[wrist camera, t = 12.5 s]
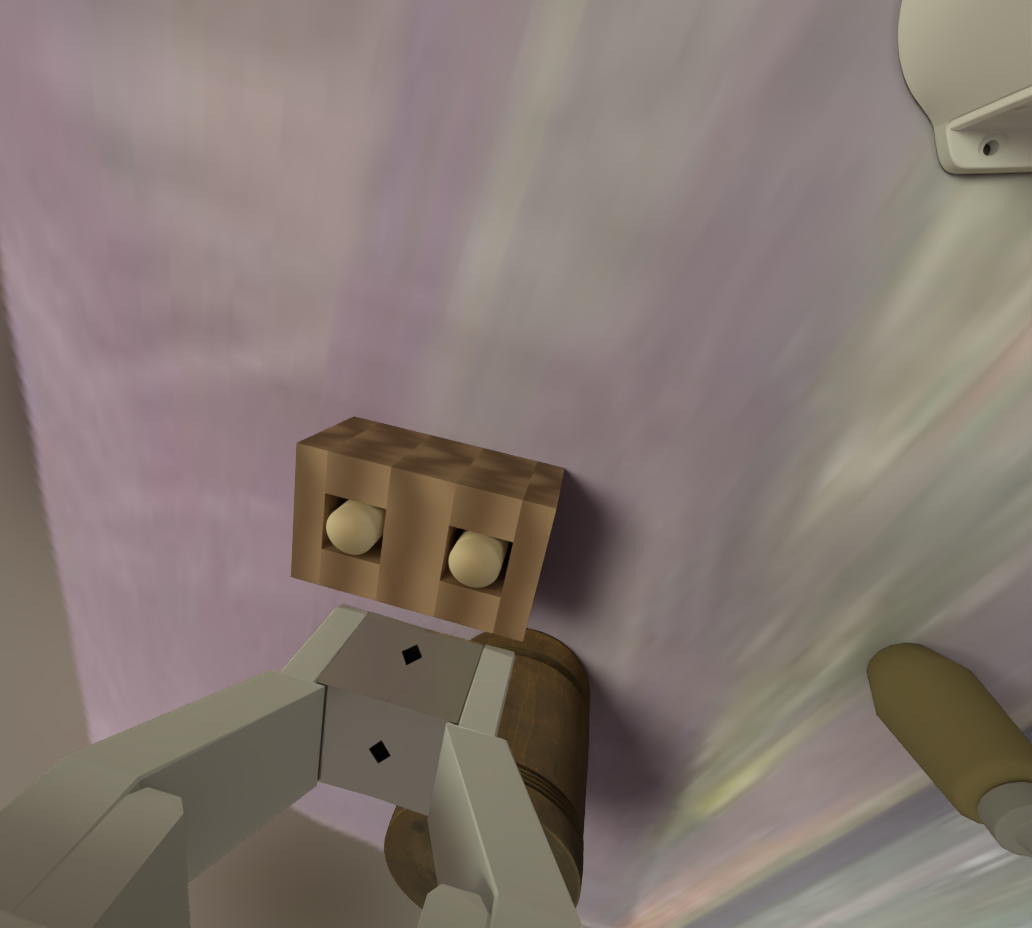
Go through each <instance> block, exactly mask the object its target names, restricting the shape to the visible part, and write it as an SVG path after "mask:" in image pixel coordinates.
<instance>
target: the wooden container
mask: <svg viewBox="0 0 1032 928" xmlns="http://www.w3.org/2000/svg"><path fill="white" fill-rule="evenodd" d="M470 641H473V642H476V643H480V644H484V645H490V646H494V647H498V648H501V649H505V650H509V651H513V652H514V653H515V660H514V664H513V668H512V673H511V677H510V681H509V686H508V690H507V694H506V699H505V703H504V707H503V712H502V716H501V720H500V724H499V729H498V733H497V737H498V738H501V739H504V740H507V743H508V745H509V748H510V750H511V753H512V755H513V758H514V760H515V762H516V765H517V767H518V770H519V772H520V775H521V777H522V780H523V782H524V785H525V787H526V789H527V792H528V794H529V797H530V799H531V802H532V804H533V807H534V809H535V811H536V814H537V816H538V819H539V821H540V824H541V826H542V829H543V831H544V833H545V836H546V838H547V841H548V843H549V846H550V848H551V851H552V853H553V855H554V858H555V860H556V863H557V865H558V868H559V870H560V873H561V875H562V877H563V880H564V882H565V885H566V887H567V890H568V892H569V895H570V897H571V899H572V902H573V904H574V907H575V908H576V906H577V904H578V901H579V898H580V892H581V884H582V874H583V850H584V849H583V846H584V842H583V834H584V817H585V797H586V781H587V767H588V746H589V705H590V690H589V682H588V678H587V675H586V672H585V670H584V668H583V666H582V665H581V663H580V661H579V660H578V659H577V657H576V656H575V655H574V654H573V653H572V652H571V651H570V650H569V649H568V648H567V647H566V646H565V645H563V644H562V643H561V642H559V641H558V640H556V639H554V638H552V637H550V636H548V635H546V634H543V633H541V632H537V631H534V630H530V629H526V631H525V635H524V639H523V642H522V641H518V640H514V639H511V638H507V637H504V636H500V635H497V634H493V633H489V632H484V633H482V634H480V635H478V636H476V637H474V638H473V639H472V640H470ZM427 818H428V816H426V815H424V814H421V813H418V812H415V811H412V810H409V809H406V808H404V807H401V806H398V805H397V806H396V808H395V810H394V813H393V815H392V818H391V821H390V823H389V826H388V829H387V832H386V836H385V842H384V853H385V858H386V862H387V865H388V868H389V870H390V873H391V875H392V877H393V878H394V880H395V882H396V883H397V885H398V886H399V887H400V888H401V890H402V891H403V892H404V893H405V894H406V895H407V896H408V897H409V898H410V899H411V900H412V901H413V902H414V903H415V904H416V905H418V906H419V907H420V908H421V909H423V907H424V903H425V900H426V897H427V894H428V893H429V892H431V891H432V890H434V889H435V888H436V887H438V883H437V877H436V870H435V864H434V858H433V852H432V846H431V839H430V833H429V827H428V821H427Z"/></svg>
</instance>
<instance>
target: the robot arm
mask: <svg viewBox="0 0 1032 928" xmlns="http://www.w3.org/2000/svg"><path fill="white" fill-rule="evenodd" d="M898 48H899V56H900V62H901V67H902V71H903V74H904V77H905V80H906V82H907V85H908V87H909V89H910V91H911V93H912V94H913V96H914V98H915V99H916V101H917V102H918V103H919V105H920V106H921V107H922V109H923V110H924V111H925V113H926V114H927V115H928V117H929V119H930V120H931V122H932V124H933V127H934V133H935V141H936V147H937V153H938V157H939V160H940V163H941V165H942V167H943V168H944V169H945V170H946V171H947V172H949V173H952V174H982V173H1015V172H1032V0H902V5H901V10H900V17H899V27H898ZM985 144H988V145H989V146H990V153H989V154H988V156H986V155H985V154H984V153H983V148H984V146H985ZM514 660H515V653H514V652H513V651H509V650H505V649H501V648H498V647H494V646H490V645H484V644H480V643H476V642H473V641H469V640H465V639H462V638H458V637H454V636H451V635H447V634H443V633H440V632H436V631H432V630H429V629H425V628H422V627H419V626H416V625H412V624H409V623H406V622H403V621H399V620H396V619H393V618H390V617H386V616H383V615H380V614H377V613H373V612H371V613H370V612H368V611H365V610H362V609H358V608H355V607H352V606H349V605H345V604H342V605H340V606H338V607H337V608H335V609H334V610H333V611H332V613H331V614H330V615H329V616H328V617H327V618H326V619H325V621H324V622H323V623H322V624H321V625H320V626H319V628H318V629H317V630H316V631H315V632H314V633H313V634H312V636H311V637H310V638H309V639H308V640H307V641H306V643H305V644H304V645H303V646H302V647H301V648H300V649H299V651H298V652H297V653H296V654H295V655H294V656H293V658H292V659H291V660H290V661H289V662H288V663H287V664H286V666H285V667H284V668H283V669H282V670H281V671H280V672H276V671H272V670H269V671H266V672H264V673H262V674H259V675H257V676H254V677H252V678H250V679H247V680H245V681H243V682H240V683H238V684H235V685H233V686H231V687H228V688H226V689H223V690H221V691H219V692H216V693H214V694H211V695H209V696H207V697H204V698H202V699H199V700H197V701H195V702H192V703H190V704H188V705H185V706H183V707H180V708H178V709H176V710H173V711H171V712H168V713H166V714H164V715H161V716H159V717H156V718H154V719H152V720H149V721H147V722H144V723H142V724H140V725H137V726H135V727H133V728H130V729H128V730H125V731H123V732H121V733H118V734H116V735H113V736H111V737H109V738H106V739H104V740H101V741H99V742H97V743H94V744H92V745H90V746H87V747H85V748H82V749H80V750H78V751H75V752H73V753H70V754H68V755H66V756H65V757H63V758H62V759H61V760H60V761H59V762H58V763H56V764H55V765H54V766H53V767H52V768H51V769H49V770H48V771H47V772H46V773H45V774H43V775H42V776H41V777H40V778H39V779H37V780H36V781H35V782H34V783H33V784H32V785H30V786H29V787H28V788H27V789H26V790H25V791H24V792H22V793H21V794H20V795H19V796H17V797H16V798H15V799H14V800H13V801H11V802H10V803H9V804H8V805H7V806H6V807H4V808H3V809H2V810H1V811H0V928H190V911H189V896H188V883H189V882H190V881H192V880H193V879H194V878H196V877H197V876H198V875H200V874H201V873H202V872H204V871H205V870H206V869H207V868H209V867H210V866H211V865H213V864H214V863H215V862H217V861H218V860H219V859H221V858H222V857H223V856H225V855H226V854H227V853H229V852H230V851H231V850H233V849H234V848H235V847H236V846H238V845H239V844H240V843H242V842H243V841H244V840H246V839H247V838H248V837H250V836H251V835H252V834H253V833H255V832H256V831H258V830H259V829H260V828H262V827H263V826H264V825H265V824H267V823H268V822H269V821H271V820H272V819H273V818H275V817H276V816H277V815H279V814H280V813H281V812H283V811H284V810H285V809H286V808H288V807H289V806H290V805H292V804H293V803H294V802H296V801H297V800H298V799H300V798H301V797H302V796H304V795H305V794H306V793H308V792H309V791H310V790H312V789H313V788H314V787H315V786H317V781H319V782H322V783H326V784H329V785H333V786H336V787H340V788H344V789H347V790H351V791H354V792H358V793H361V794H365V795H369V796H372V797H375V798H378V799H381V800H384V801H386V802H389V803H392V804H395V805H398V806H401V807H404V808H406V809H409V810H412V811H415V812H418V813H421V814H424V815H426V816H428V818H427V821H428V827H429V833H430V839H431V846H432V852H433V858H434V864H435V870H436V877H437V883H438V887H436V888H435V889H434V890H432V891H431V892H429V893H428V894H427V897H426V900H425V903H424V907H423V910H422V913H421V917H420V920H419V923H418V926H417V928H582V924H581V921H580V919H579V917H578V914H577V912H576V909H575V907H574V904H573V902H572V899H571V897H570V895H569V892H568V890H567V887H566V885H565V882H564V880H563V877H562V875H561V873H560V870H559V868H558V865H557V863H556V860H555V858H554V855H553V853H552V851H551V848H550V846H549V843H548V841H547V838H546V836H545V833H544V831H543V829H542V826H541V824H540V821H539V819H538V816H537V814H536V811H535V809H534V807H533V804H532V802H531V799H530V797H529V794H528V792H527V789H526V787H525V785H524V782H523V780H522V777H521V775H520V772H519V770H518V767H517V765H516V762H515V760H514V758H513V755H512V753H511V750H510V748H509V745H508V743H507V740H504V739H501V738H498V737H497V733H498V729H499V724H500V720H501V716H502V712H503V707H504V703H505V699H506V694H507V690H508V686H509V681H510V677H511V673H512V668H513V664H514Z"/></svg>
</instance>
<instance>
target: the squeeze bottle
mask: <svg viewBox="0 0 1032 928" xmlns="http://www.w3.org/2000/svg"><path fill="white" fill-rule="evenodd" d="M867 675H868V680H869V684H870V688H871V693H872V697H873V701H874V706H875V710H876V714H877V716H878V717H879V718H880V719H881V720H882V722H883V723H884V724H885V725H886V726H887V728H888V729H889V730H890V731H891V732H892V733H893V735H894V736H895V737H896V738H897V739H898V741H899V742H900V743H901V744H902V745H903V747H904V748H905V749H906V750H907V751H908V753H909V754H910V755H911V756H912V757H913V758H914V760H915V761H916V762H917V763H918V764H919V766H920V767H921V768H922V769H923V770H924V772H925V773H926V774H927V775H928V776H929V777H930V779H931V780H932V781H933V782H934V783H935V785H936V786H937V787H938V788H939V789H940V791H941V792H942V793H943V794H944V795H945V796H946V798H947V799H948V800H949V801H950V802H951V804H952V805H953V806H954V807H955V808H956V809H957V810H958V811H959V813H960V814H961V815H963V816H965V817H967V818H969V819H971V820H973V821H975V822H977V823H980V824H984V825H985V826H986V828H987V829H988V830H989V832H990V833H991V834H992V836H993V837H994V838H995V840H996V841H997V842H998V843H999V844H1000V845H1001V846H1002V848H1004V849H1006V850H1008V851H1010V852H1012V853H1015V854H1017V855H1022V856H1028V857H1032V744H1031V743H1030V741H1029V740H1028V739H1027V738H1026V737H1025V735H1024V734H1023V733H1022V732H1021V731H1020V729H1019V728H1018V727H1017V726H1016V724H1015V723H1014V722H1013V721H1012V720H1011V718H1010V717H1009V716H1008V715H1007V714H1006V712H1005V711H1004V710H1003V709H1002V708H1001V706H1000V705H999V704H998V703H997V701H996V700H995V699H994V698H993V697H992V695H991V694H990V693H989V692H988V691H987V689H986V688H985V687H984V686H983V685H982V683H981V682H980V681H979V680H978V679H977V677H976V676H975V675H974V674H973V673H972V671H970V670H968V669H966V668H964V667H962V666H961V665H959V664H957V663H955V662H953V661H951V660H949V659H947V658H945V657H943V656H941V655H939V654H937V653H935V652H934V651H932V650H930V649H927V648H925V647H923V646H921V645H917V644H908V643H903V644H897V645H892V646H889V647H887V648H885V649H883V650H881V651H879V652H878V653H877V654H876V655H875V656H874V657H873V658H872V659H871V660H870V662H869V665H868V668H867Z"/></svg>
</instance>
